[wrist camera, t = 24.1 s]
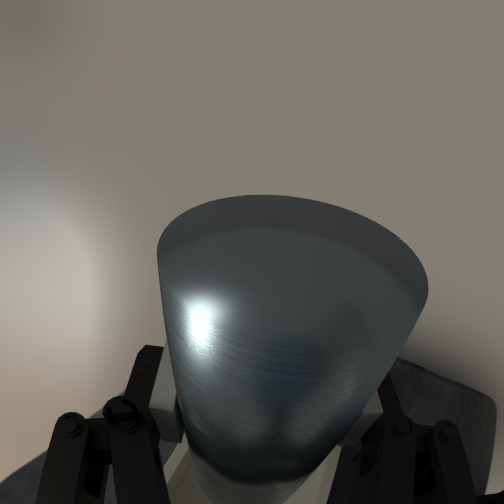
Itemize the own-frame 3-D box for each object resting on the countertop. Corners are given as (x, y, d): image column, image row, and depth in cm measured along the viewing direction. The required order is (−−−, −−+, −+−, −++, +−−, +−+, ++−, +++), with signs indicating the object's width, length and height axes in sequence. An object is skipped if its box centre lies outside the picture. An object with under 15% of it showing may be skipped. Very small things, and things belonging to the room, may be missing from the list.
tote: (233, 374, 36) (235, 348, 33) (340, 406, 32) (353, 383, 30) (145, 522, 18) (132, 515, 15) (287, 573, 14) (299, 576, 12)
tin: (286, 424, 17) (355, 198, 10) (309, 504, 12) (477, 318, 5) (192, 432, 16) (168, 194, 9) (202, 519, 11) (140, 362, 4)
